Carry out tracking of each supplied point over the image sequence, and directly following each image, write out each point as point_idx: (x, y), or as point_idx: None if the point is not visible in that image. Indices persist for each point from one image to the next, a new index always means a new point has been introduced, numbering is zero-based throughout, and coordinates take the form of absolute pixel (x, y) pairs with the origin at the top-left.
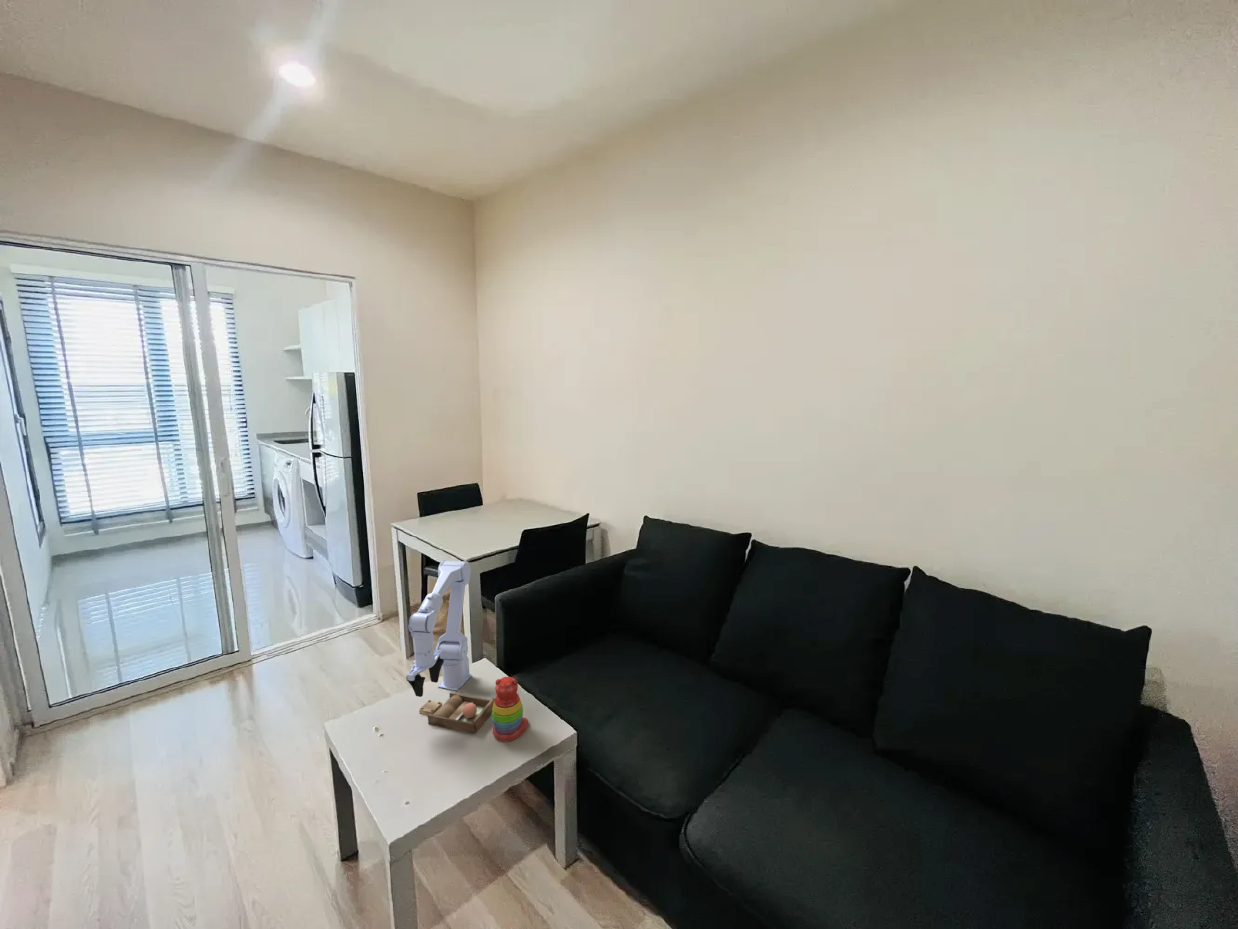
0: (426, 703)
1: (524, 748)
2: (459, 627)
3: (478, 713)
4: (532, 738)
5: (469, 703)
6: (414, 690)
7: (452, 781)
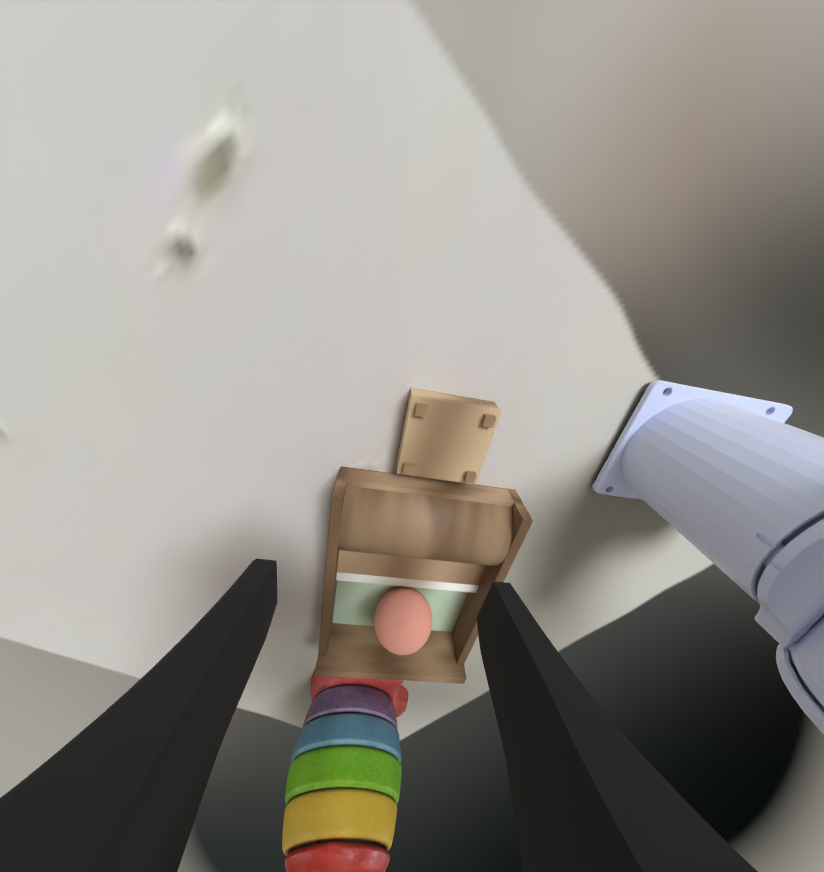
0: (469, 411)
1: (305, 712)
2: None
3: None
4: None
5: (412, 647)
6: (206, 623)
7: (120, 635)
